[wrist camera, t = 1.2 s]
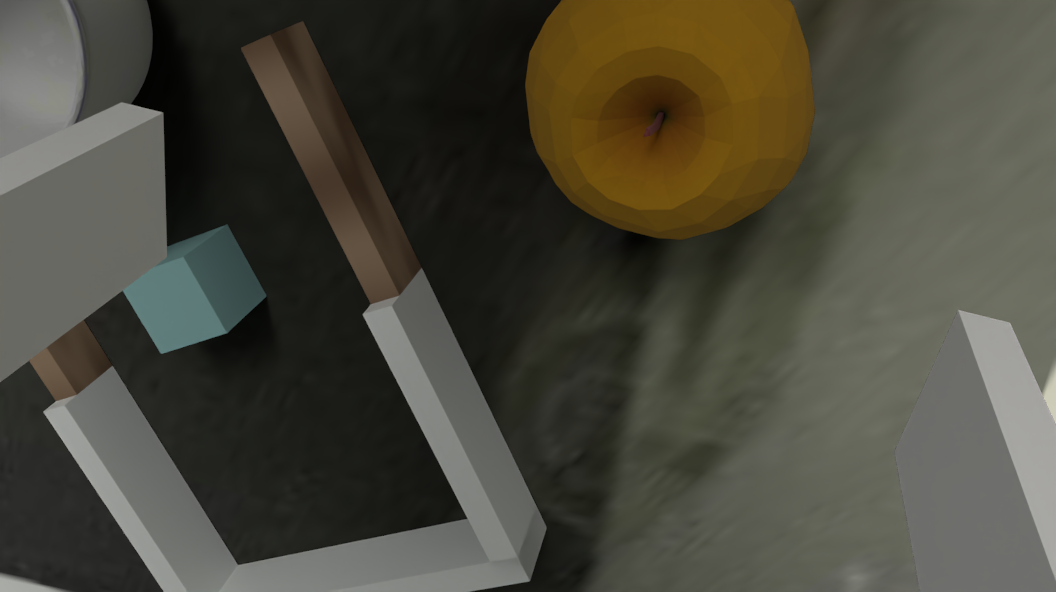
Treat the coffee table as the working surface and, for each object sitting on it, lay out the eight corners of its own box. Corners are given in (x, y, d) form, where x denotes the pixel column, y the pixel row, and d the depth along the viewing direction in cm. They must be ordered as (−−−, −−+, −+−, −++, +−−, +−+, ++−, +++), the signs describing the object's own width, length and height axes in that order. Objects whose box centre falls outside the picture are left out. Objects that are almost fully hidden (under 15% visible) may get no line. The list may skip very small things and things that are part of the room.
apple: (860, 89, 36) (894, 192, 26) (651, 216, 41) (610, 348, 30) (721, -133, 34) (699, -116, 24) (515, 25, 38) (421, 98, 28)
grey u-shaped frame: (92, 372, 52) (43, 411, 48) (421, 267, 44) (391, 305, 41) (230, 588, 57) (195, 638, 53) (547, 527, 49) (529, 581, 46)
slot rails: (-36, 172, 48) (-82, 193, 45) (302, 20, 40) (270, 34, 38) (92, 372, 52) (56, 401, 49) (421, 267, 44) (399, 295, 42)
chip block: (165, 247, 47) (116, 280, 44) (228, 223, 46) (183, 256, 42) (205, 315, 49) (161, 353, 45) (267, 295, 47) (227, 333, 44)
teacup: (-55, -132, 41) (-225, -123, 34) (172, -120, 39) (41, -108, 32) (13, 174, 47) (-118, 235, 40) (212, 198, 45) (110, 266, 38)
